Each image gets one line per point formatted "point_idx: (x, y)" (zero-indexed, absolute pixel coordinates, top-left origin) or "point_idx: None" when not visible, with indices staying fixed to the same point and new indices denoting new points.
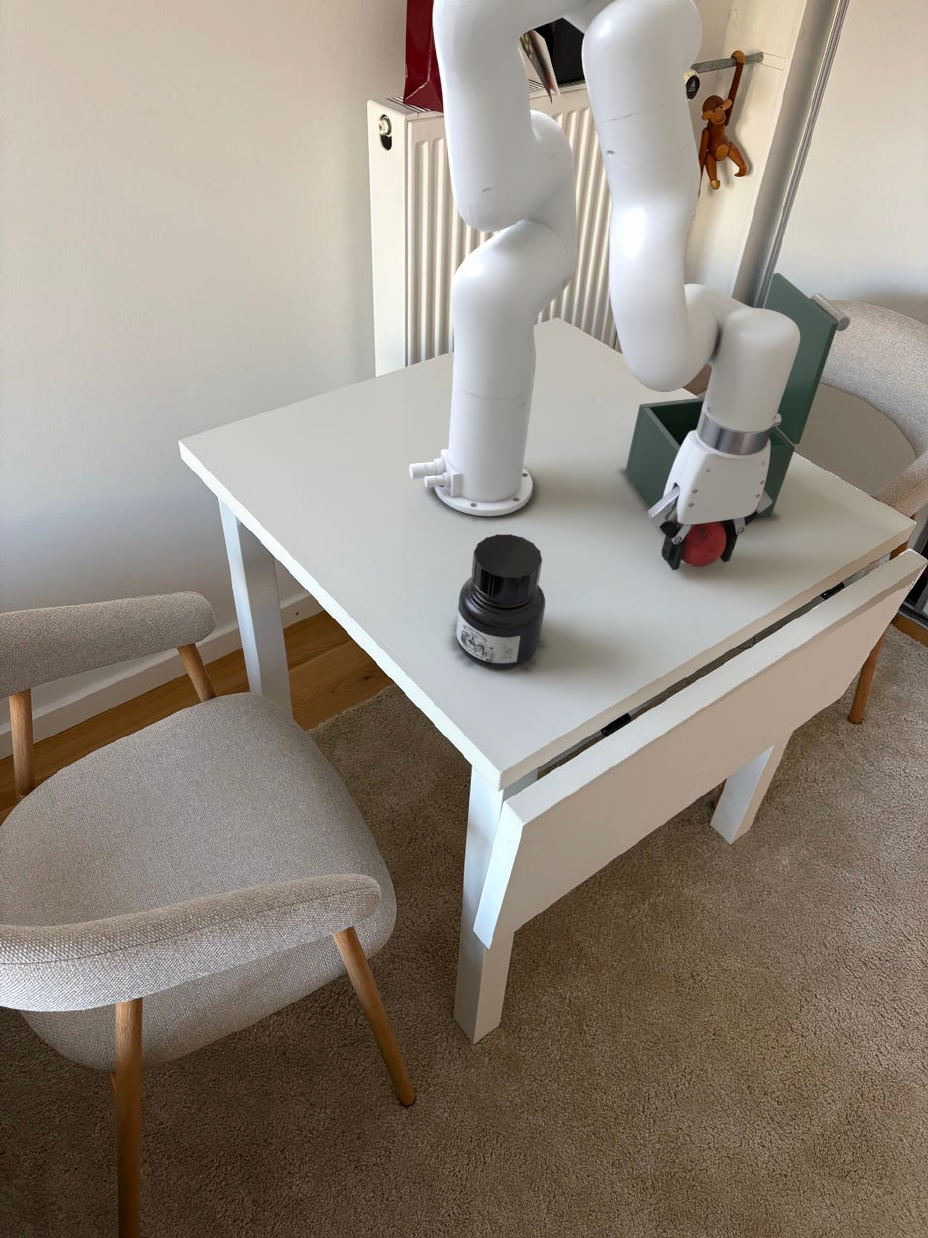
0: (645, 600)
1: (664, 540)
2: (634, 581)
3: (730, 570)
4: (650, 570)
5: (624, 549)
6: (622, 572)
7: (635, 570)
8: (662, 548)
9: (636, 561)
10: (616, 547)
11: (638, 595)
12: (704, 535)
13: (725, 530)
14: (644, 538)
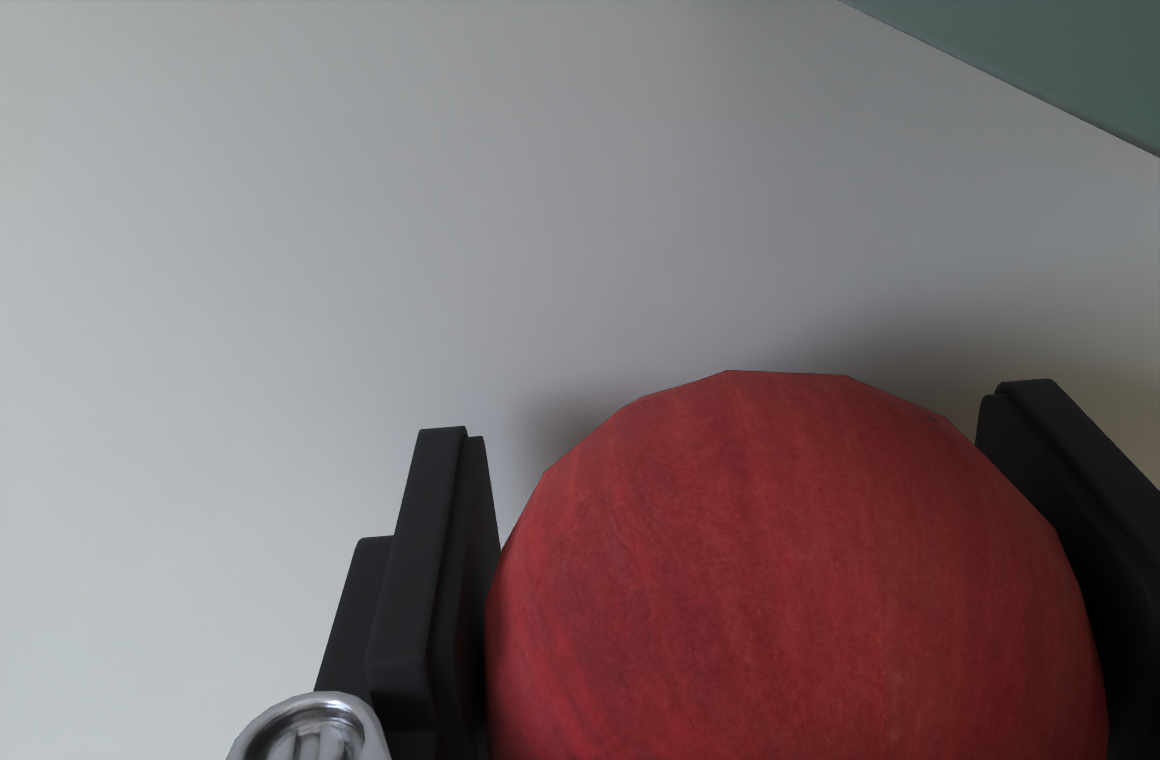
0: (197, 735)
1: (328, 644)
2: (142, 570)
3: None
4: (309, 473)
5: (100, 170)
6: (47, 469)
7: (171, 459)
8: (348, 575)
9: (201, 354)
10: (12, 126)
11: (152, 693)
12: None
13: (1122, 730)
14: (365, 10)
